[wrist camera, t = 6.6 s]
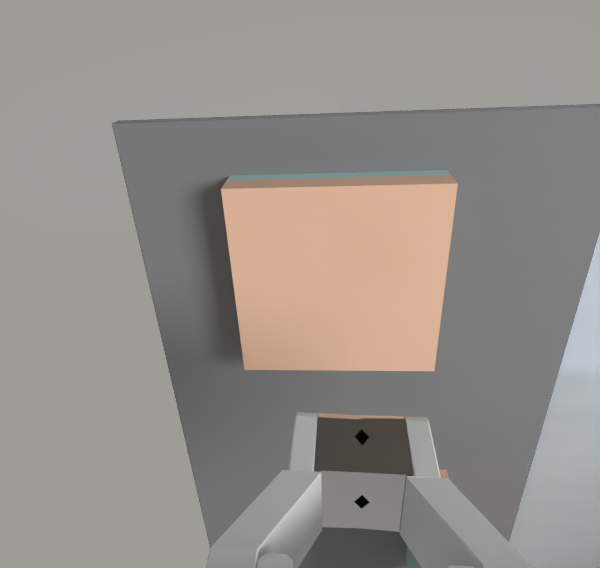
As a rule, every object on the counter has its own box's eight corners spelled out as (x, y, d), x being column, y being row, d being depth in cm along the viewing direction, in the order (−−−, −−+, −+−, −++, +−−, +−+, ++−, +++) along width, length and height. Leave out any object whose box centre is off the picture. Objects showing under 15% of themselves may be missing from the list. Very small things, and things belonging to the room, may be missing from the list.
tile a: (458, 183, 15) (220, 188, 16) (434, 371, 19) (244, 369, 20) (447, 170, 17) (229, 175, 17) (427, 347, 21) (250, 347, 21)
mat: (626, 103, 16) (636, 105, 15) (494, 569, 30) (497, 579, 29) (118, 120, 17) (111, 123, 17) (217, 558, 31) (215, 567, 30)
